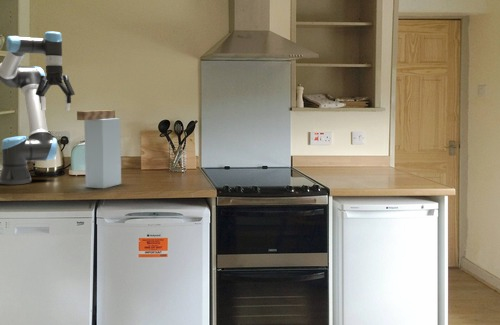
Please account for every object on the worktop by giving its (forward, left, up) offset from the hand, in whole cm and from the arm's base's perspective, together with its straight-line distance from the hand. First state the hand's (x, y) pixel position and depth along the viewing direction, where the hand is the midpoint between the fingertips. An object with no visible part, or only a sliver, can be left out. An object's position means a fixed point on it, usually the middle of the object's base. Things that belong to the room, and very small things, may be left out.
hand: (55, 110), depth 277 cm
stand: (+10, +20, -37) cm, 43 cm away
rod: (+12, +15, -4) cm, 20 cm away
